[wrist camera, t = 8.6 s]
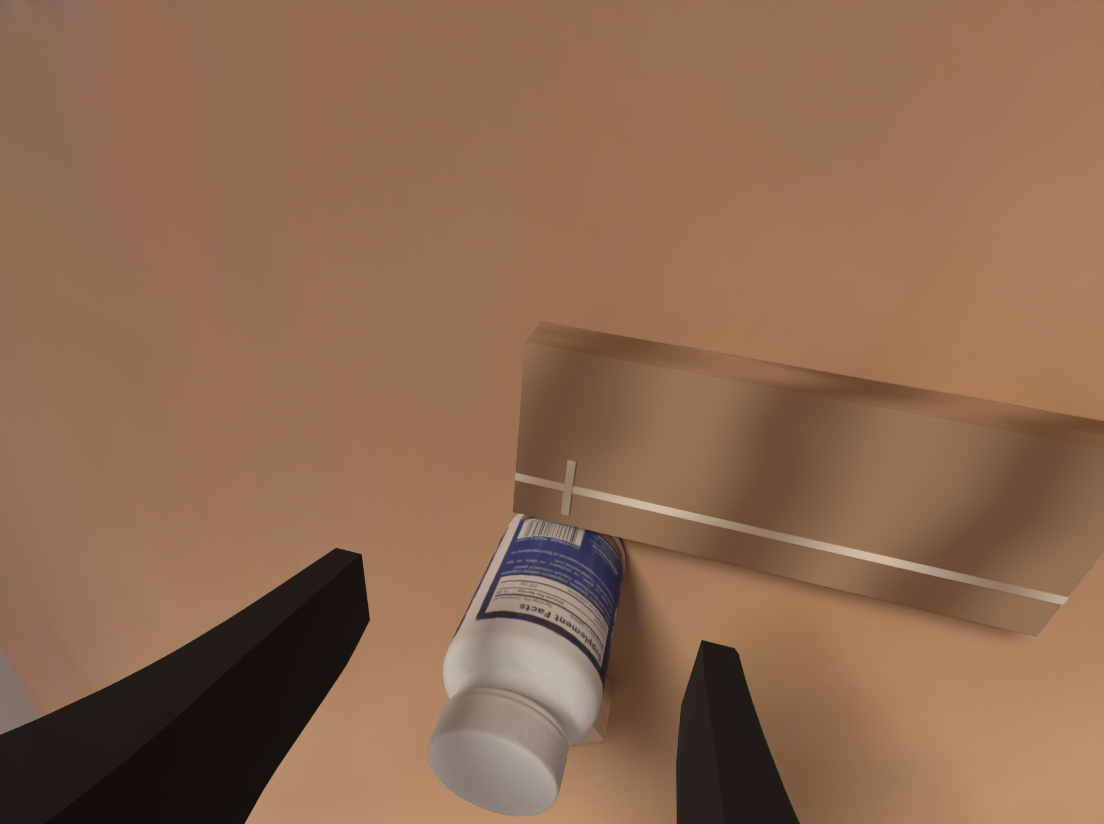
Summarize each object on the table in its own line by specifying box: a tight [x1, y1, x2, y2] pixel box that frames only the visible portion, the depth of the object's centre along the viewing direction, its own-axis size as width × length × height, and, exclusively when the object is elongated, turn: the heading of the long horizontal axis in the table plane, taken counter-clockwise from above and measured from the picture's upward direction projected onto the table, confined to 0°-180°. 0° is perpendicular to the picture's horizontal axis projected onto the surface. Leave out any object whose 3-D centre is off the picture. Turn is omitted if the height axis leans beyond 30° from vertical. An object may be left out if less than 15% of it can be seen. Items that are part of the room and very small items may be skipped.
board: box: [513, 322, 1104, 636], centre depth 19 cm, size 18×7×2 cm, turn 84°
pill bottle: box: [427, 514, 625, 816], centre depth 20 cm, size 5×5×10 cm
